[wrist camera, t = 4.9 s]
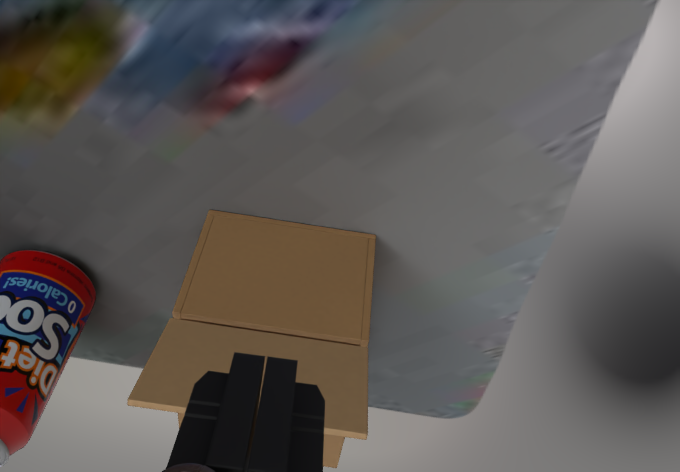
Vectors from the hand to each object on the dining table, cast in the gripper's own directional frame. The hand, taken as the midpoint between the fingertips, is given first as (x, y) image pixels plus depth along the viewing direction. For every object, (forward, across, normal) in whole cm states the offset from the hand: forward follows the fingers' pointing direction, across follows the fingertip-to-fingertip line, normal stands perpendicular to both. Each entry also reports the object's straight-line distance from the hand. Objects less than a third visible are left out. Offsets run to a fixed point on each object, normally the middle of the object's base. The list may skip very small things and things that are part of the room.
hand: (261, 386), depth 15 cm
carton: (+32, 0, +16) cm, 36 cm away
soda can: (+34, +19, +18) cm, 43 cm away
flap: (+16, +1, +12) cm, 20 cm away
